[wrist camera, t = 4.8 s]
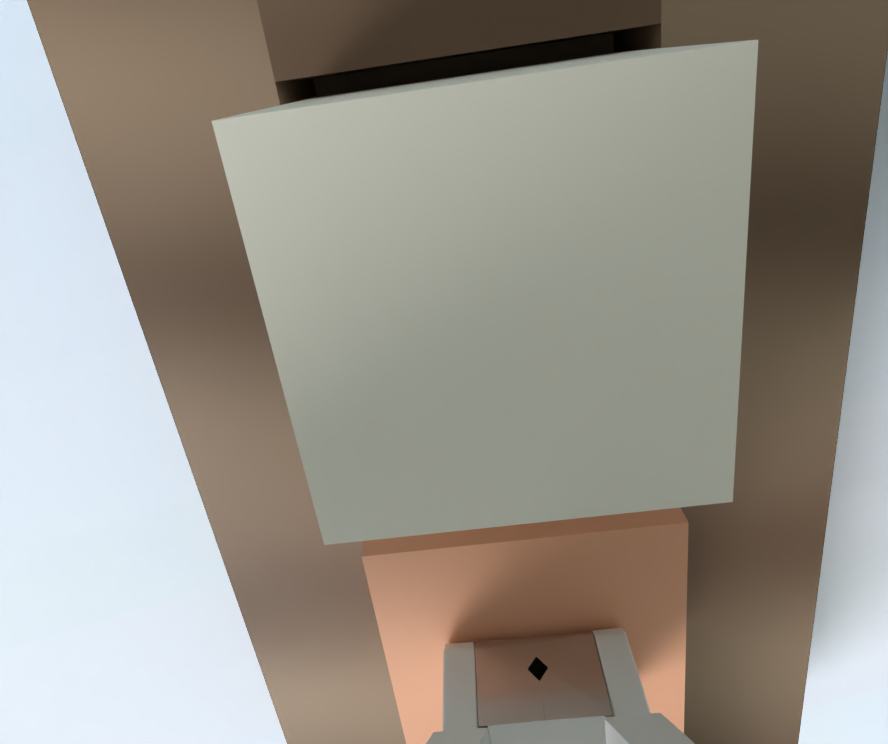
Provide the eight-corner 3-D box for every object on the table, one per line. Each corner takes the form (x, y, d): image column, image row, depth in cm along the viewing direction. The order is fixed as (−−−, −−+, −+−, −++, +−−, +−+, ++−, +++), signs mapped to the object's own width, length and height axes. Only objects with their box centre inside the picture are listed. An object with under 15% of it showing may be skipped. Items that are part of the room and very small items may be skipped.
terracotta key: (388, 406, 15) (361, 556, 10) (613, 379, 14) (688, 522, 10) (422, 578, 17) (411, 767, 12) (619, 558, 17) (683, 744, 12)
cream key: (312, 97, 11) (211, 120, 6) (623, 51, 10) (759, 40, 6) (368, 375, 13) (323, 544, 8) (629, 343, 12) (732, 502, 8)
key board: (152, 9, 13) (21, -17, 9) (762, -89, 13) (915, -165, 8) (359, 741, 22) (339, 892, 18) (719, 710, 22) (782, 860, 18)
